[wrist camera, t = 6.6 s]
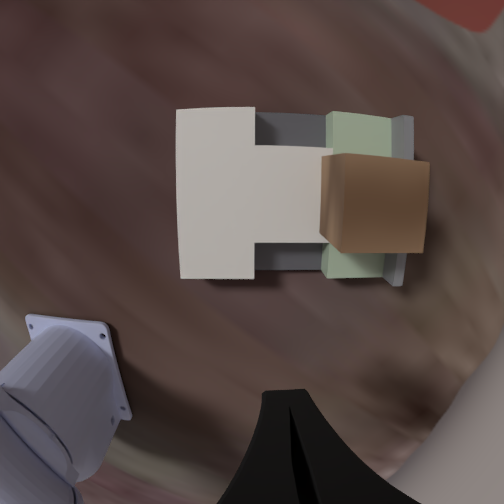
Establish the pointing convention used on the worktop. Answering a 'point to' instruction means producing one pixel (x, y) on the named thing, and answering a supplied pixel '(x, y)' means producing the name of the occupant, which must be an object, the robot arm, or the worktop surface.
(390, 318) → the worktop surface
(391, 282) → the board
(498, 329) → the worktop surface
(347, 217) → the walnut block
